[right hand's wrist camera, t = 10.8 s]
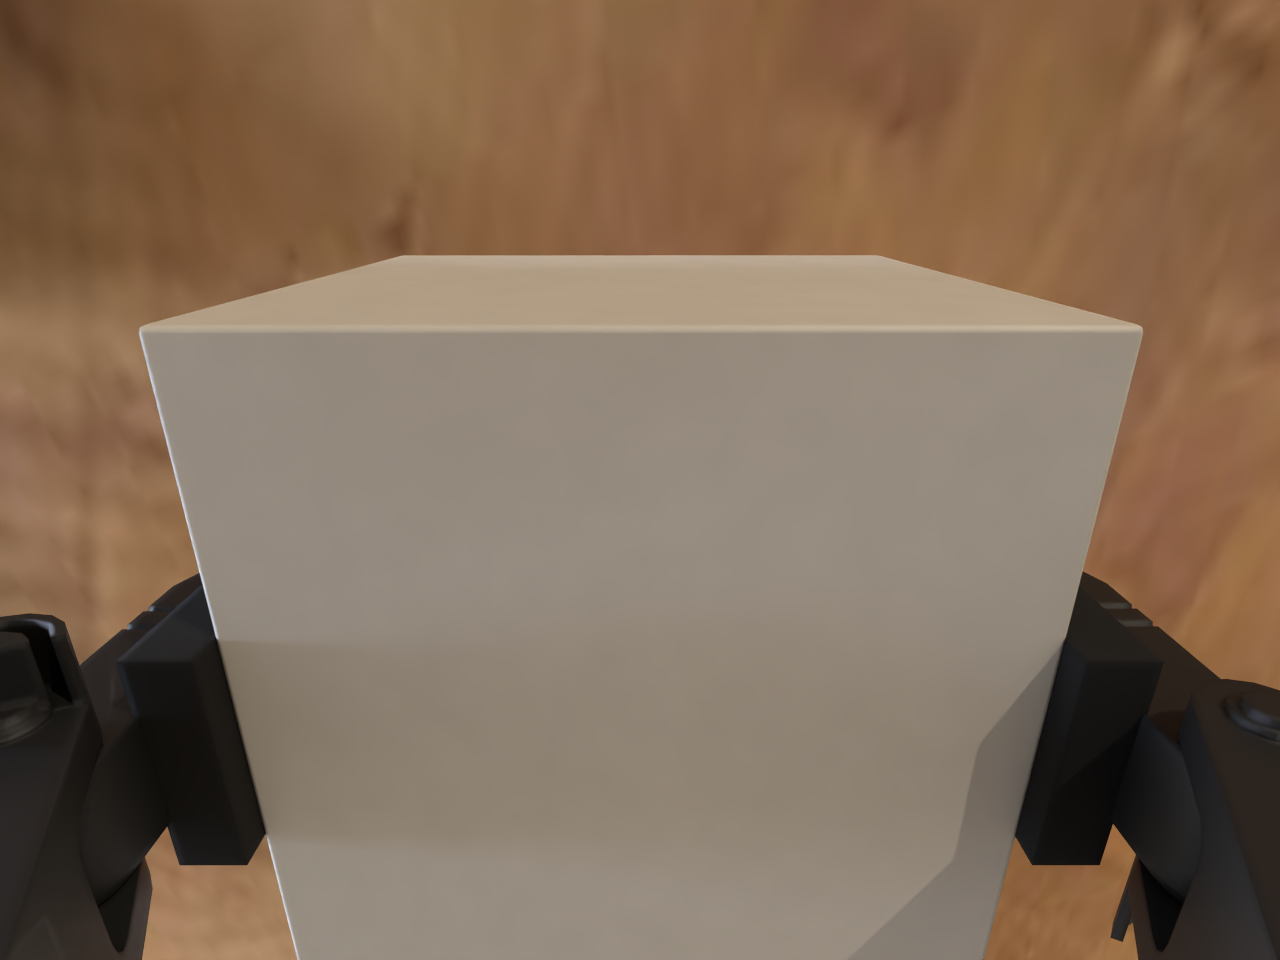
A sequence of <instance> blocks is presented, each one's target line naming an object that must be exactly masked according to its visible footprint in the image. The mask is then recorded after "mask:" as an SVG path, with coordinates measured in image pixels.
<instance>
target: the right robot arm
mask: <svg viewBox="0 0 1280 960" xmlns="http://www.w3.org/2000/svg"><path fill="white" fill-rule="evenodd" d="M1152 623H1153V622H1152V621H1151V620H1150V619H1148V618H1147V617H1146V616H1145V615H1144V614H1142V613H1141V612H1140V611H1139V610H1138V609H1132V604H1131V603H1129V602H1128V601H1127V600H1126V599H1125V598H1123V597H1122V596H1121V595H1120V594H1119V593H1117V592H1116V591H1115V590H1114V589H1113V588H1111V587H1110V586H1109V585H1108V584H1107V583H1105V582H1103V581H1101V580H1099V579H1097V578H1095V577H1093V576H1091V575H1089V574H1087V573H1085V572H1082V576H1081V579H1080V583H1079V587H1078V591H1077V595H1076V599H1075V603H1074V607H1073V611H1072V615H1071V619H1070V623H1069V627H1068V631H1067V634H1066V638H1065V641H1064V645H1063V649H1062V652H1061V656H1060V660H1059V664H1058V668H1057V672H1056V676H1055V680H1054V684H1053V688H1052V692H1051V696H1050V700H1049V704H1048V708H1047V711H1046V715H1045V719H1044V723H1043V727H1042V731H1041V735H1040V739H1039V743H1038V747H1037V751H1036V755H1035V759H1034V763H1033V767H1032V770H1031V774H1030V778H1029V782H1028V786H1027V790H1026V794H1025V798H1024V802H1023V806H1022V810H1021V814H1020V818H1019V822H1018V825H1017V829H1016V833H1015V836H1016V838H1017V840H1018V842H1019V843H1020V845H1021V847H1022V848H1023V850H1024V852H1025V854H1026V855H1027V857H1028V859H1029V860H1030V862H1031V864H1032V865H1100V862H1101V859H1102V856H1103V853H1104V850H1105V847H1106V843H1107V840H1108V837H1109V834H1110V831H1111V828H1112V825H1113V824H1114V825H1115V827H1116V828H1117V829H1118V831H1119V832H1120V833H1121V835H1122V836H1123V837H1124V839H1125V840H1126V841H1127V843H1128V844H1129V845H1130V847H1131V848H1132V849H1133V851H1134V852H1135V853H1136V857H1135V860H1134V863H1133V866H1132V868H1131V871H1130V874H1129V877H1128V880H1127V883H1126V886H1125V889H1124V892H1123V895H1122V898H1121V901H1120V904H1119V907H1118V910H1117V912H1116V915H1115V918H1114V921H1113V927H1112V933H1111V938H1113V939H1116V940H1119V941H1121V942H1123V939H1124V936H1125V933H1126V930H1127V928H1128V925H1130V924H1131V923H1133V926H1134V933H1135V939H1136V946H1137V953H1138V959H1139V960H1280V690H1277V689H1273V688H1270V687H1267V686H1263V685H1260V684H1257V683H1252V682H1244V681H1237V680H1230V679H1222V680H1221V679H1220V678H1219V677H1217V676H1216V675H1215V674H1214V673H1213V672H1212V671H1210V670H1209V669H1208V668H1207V667H1206V666H1204V665H1203V664H1202V663H1201V662H1200V661H1198V660H1197V659H1196V658H1195V657H1194V656H1192V655H1191V654H1190V653H1189V652H1188V651H1187V650H1185V649H1184V648H1183V647H1182V646H1181V645H1179V644H1178V643H1177V642H1176V641H1175V640H1173V639H1172V638H1171V637H1170V636H1169V635H1167V634H1166V633H1165V632H1164V631H1163V630H1161V629H1160V628H1159V627H1153V624H1152ZM166 827H168V830H169V833H170V836H171V839H172V842H173V845H174V848H175V852H176V855H177V858H178V861H179V864H180V865H248V863H249V861H250V860H251V858H252V856H253V854H254V853H255V851H256V849H257V848H258V846H259V844H260V842H261V841H262V839H263V837H264V836H265V834H266V832H265V828H264V825H263V821H262V817H261V813H260V809H259V805H258V801H257V797H256V793H255V789H254V785H253V781H252V777H251V773H250V769H249V765H248V761H247V758H246V754H245V750H244V746H243V742H242V738H241V734H240V730H239V726H238V722H237V718H236V714H235V710H234V706H233V702H232V698H231V694H230V690H229V687H228V683H227V679H226V675H225V671H224V667H223V663H222V659H221V655H220V651H219V647H218V643H217V639H216V635H215V631H214V627H213V623H212V620H211V616H210V612H209V608H208V604H207V600H206V596H205V592H204V588H203V584H202V580H201V576H200V573H198V574H197V575H195V576H193V577H191V578H189V579H187V580H185V581H183V582H181V583H179V584H177V585H175V586H173V587H172V588H171V589H169V590H168V591H167V592H166V593H165V594H164V595H162V596H161V597H160V598H159V599H158V600H156V601H155V602H154V603H153V604H152V605H151V606H149V610H148V611H143V612H142V613H141V614H140V615H139V616H138V617H136V618H135V619H134V620H133V621H132V622H130V623H129V624H128V628H127V629H122V630H121V631H120V632H119V633H117V634H116V635H115V636H114V637H113V638H112V639H110V640H109V641H108V642H107V643H106V644H104V645H103V646H102V647H101V648H100V649H99V650H97V651H96V652H95V653H94V654H93V655H91V656H90V657H89V658H88V659H87V660H86V661H84V662H83V663H82V664H81V665H80V666H79V663H78V660H77V657H76V654H75V651H74V649H73V646H72V643H71V640H70V637H69V634H68V631H67V628H66V625H65V622H63V621H61V620H60V619H58V618H56V617H54V616H52V615H42V614H22V615H13V616H5V617H0V960H142V955H143V948H144V942H145V935H146V928H147V922H148V915H149V909H150V902H151V895H152V882H151V876H150V871H149V868H148V866H147V863H146V860H145V855H146V854H147V853H148V851H149V850H150V849H151V847H152V846H153V845H154V843H155V842H156V841H157V839H158V838H159V837H160V835H161V834H162V833H163V831H164V830H165V829H166Z"/></svg>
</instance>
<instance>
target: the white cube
mask: <svg viewBox="0 0 1280 960" xmlns="http://www.w3.org/2000/svg"><path fill="white" fill-rule="evenodd" d="M139 336H140V340H141V344H142V347H143V351H144V355H145V359H146V363H147V367H148V371H149V375H150V379H151V383H152V387H153V391H154V395H155V399H156V403H157V407H158V411H159V414H160V418H161V422H162V426H163V430H164V434H165V438H166V442H167V446H168V450H169V454H170V458H171V462H172V466H173V470H174V474H175V478H176V482H177V485H178V489H179V493H180V497H181V501H182V505H183V509H184V513H185V517H186V521H187V525H188V529H189V533H190V537H191V541H192V545H193V549H194V552H195V556H196V560H197V564H198V568H199V572H200V576H201V580H202V584H203V588H204V592H205V596H206V600H207V604H208V608H209V612H210V616H211V620H212V623H213V627H214V631H215V635H216V639H217V643H218V647H219V651H220V655H221V659H222V663H223V667H224V671H225V675H226V679H227V683H228V687H229V690H230V694H231V698H232V702H233V706H234V710H235V714H236V718H237V722H238V726H239V730H240V734H241V738H242V742H243V746H244V750H245V754H246V758H247V761H248V765H249V769H250V773H251V777H252V781H253V785H254V789H255V793H256V797H257V801H258V805H259V809H260V813H261V817H262V821H263V825H264V828H265V832H266V836H267V840H268V844H269V848H270V852H271V856H272V860H273V864H274V868H275V872H276V876H277V880H278V884H279V888H280V892H281V895H282V899H283V903H284V907H285V911H286V915H287V919H288V923H289V927H290V931H291V935H292V939H293V943H294V947H295V951H296V955H297V959H298V960H984V957H985V953H986V949H987V945H988V941H989V937H990V933H991V929H992V925H993V921H994V917H995V913H996V910H997V906H998V902H999V898H1000V894H1001V890H1002V886H1003V882H1004V878H1005V874H1006V870H1007V866H1008V862H1009V858H1010V855H1011V851H1012V847H1013V843H1014V839H1015V833H1016V829H1017V825H1018V822H1019V818H1020V814H1021V810H1022V806H1023V802H1024V798H1025V794H1026V790H1027V786H1028V782H1029V778H1030V774H1031V770H1032V767H1033V763H1034V759H1035V755H1036V751H1037V747H1038V743H1039V739H1040V735H1041V731H1042V727H1043V723H1044V719H1045V715H1046V711H1047V708H1048V704H1049V700H1050V696H1051V692H1052V688H1053V684H1054V680H1055V676H1056V672H1057V668H1058V664H1059V660H1060V656H1061V652H1062V649H1063V645H1064V641H1065V638H1066V634H1067V631H1068V627H1069V623H1070V619H1071V615H1072V611H1073V607H1074V603H1075V599H1076V595H1077V591H1078V587H1079V583H1080V579H1081V576H1082V572H1083V568H1084V564H1085V560H1086V556H1087V552H1088V548H1089V544H1090V540H1091V536H1092V532H1093V528H1094V524H1095V521H1096V517H1097V513H1098V509H1099V505H1100V501H1101V497H1102V493H1103V489H1104V485H1105V481H1106V477H1107V473H1108V469H1109V466H1110V462H1111V458H1112V454H1113V450H1114V446H1115V442H1116V438H1117V434H1118V430H1119V426H1120V422H1121V418H1122V414H1123V410H1124V407H1125V403H1126V399H1127V395H1128V391H1129V387H1130V383H1131V379H1132V375H1133V371H1134V367H1135V363H1136V359H1137V355H1138V352H1139V348H1140V344H1141V340H1142V336H1143V328H1142V327H1141V326H1139V325H1136V324H1133V323H1130V322H1126V321H1122V320H1118V319H1115V318H1111V317H1107V316H1103V315H1100V314H1096V313H1092V312H1088V311H1085V310H1081V309H1077V308H1073V307H1070V306H1066V305H1062V304H1058V303H1055V302H1051V301H1047V300H1043V299H1040V298H1036V297H1032V296H1028V295H1025V294H1021V293H1017V292H1013V291H1010V290H1006V289H1002V288H998V287H995V286H991V285H987V284H983V283H979V282H976V281H972V280H968V279H964V278H961V277H957V276H953V275H949V274H946V273H942V272H938V271H934V270H931V269H927V268H923V267H919V266H916V265H912V264H908V263H904V262H901V261H897V260H893V259H889V258H886V257H882V256H878V255H572V256H571V255H570V256H399V257H395V258H392V259H388V260H384V261H380V262H377V263H373V264H369V265H366V266H362V267H358V268H354V269H351V270H347V271H343V272H339V273H336V274H332V275H328V276H325V277H321V278H317V279H313V280H310V281H306V282H302V283H298V284H295V285H291V286H287V287H284V288H280V289H276V290H272V291H269V292H265V293H261V294H257V295H254V296H250V297H246V298H242V299H239V300H235V301H231V302H228V303H224V304H220V305H216V306H213V307H209V308H205V309H201V310H198V311H194V312H190V313H187V314H183V315H179V316H175V317H172V318H168V319H164V320H160V321H157V322H153V323H149V324H146V325H144V326H142V327H140V329H139Z"/></svg>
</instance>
